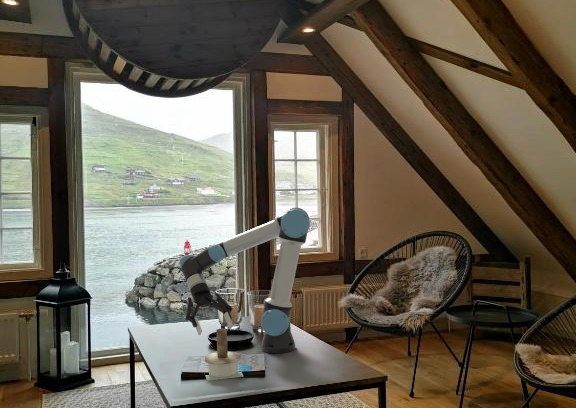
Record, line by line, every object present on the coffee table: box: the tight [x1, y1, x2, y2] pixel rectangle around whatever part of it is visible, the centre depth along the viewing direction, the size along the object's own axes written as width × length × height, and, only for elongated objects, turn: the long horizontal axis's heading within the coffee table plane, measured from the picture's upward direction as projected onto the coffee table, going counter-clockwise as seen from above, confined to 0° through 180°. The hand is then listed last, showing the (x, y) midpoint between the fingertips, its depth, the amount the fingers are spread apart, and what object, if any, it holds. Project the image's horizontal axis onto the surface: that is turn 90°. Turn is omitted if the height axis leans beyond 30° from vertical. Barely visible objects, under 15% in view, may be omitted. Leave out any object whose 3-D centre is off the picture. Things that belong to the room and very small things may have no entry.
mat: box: [205, 371, 244, 381], centre depth 224 cm, size 14×14×1 cm
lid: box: [204, 328, 242, 365], centre depth 224 cm, size 14×14×12 cm
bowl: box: [207, 360, 239, 378], centre depth 224 cm, size 11×11×6 cm
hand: (216, 330), depth 226 cm, fingers open, 13 cm apart
